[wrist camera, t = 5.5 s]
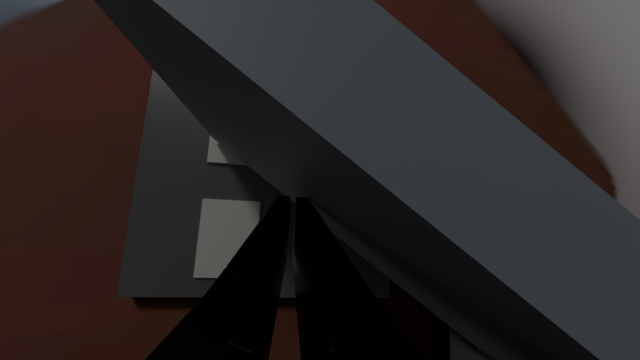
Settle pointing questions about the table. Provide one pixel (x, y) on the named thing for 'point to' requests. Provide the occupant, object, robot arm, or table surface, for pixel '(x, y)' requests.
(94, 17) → the table surface
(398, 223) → the gate panel
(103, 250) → the table surface
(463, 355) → the hinge base
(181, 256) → the label plate
